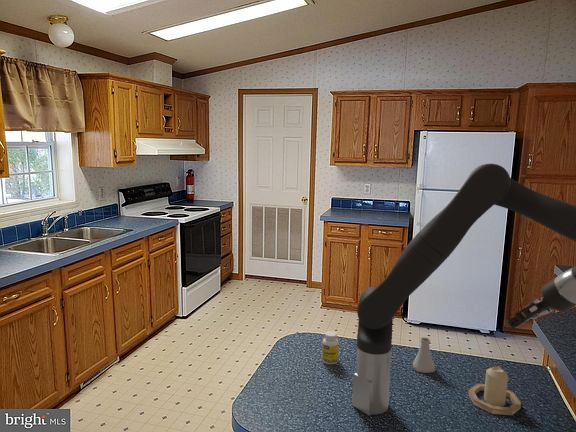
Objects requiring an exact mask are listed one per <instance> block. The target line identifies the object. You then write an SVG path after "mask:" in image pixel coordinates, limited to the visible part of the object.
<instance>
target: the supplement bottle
mask: <svg viewBox="0 0 576 432" xmlns="http://www.w3.org/2000/svg"><path fill="white" fill-rule="evenodd" d="M337 335H338V333H337V332H335V331H332V330H327V331H325V332H324V338H323V340H322V348H321V350H322V351H321V361H322V362H323V363H324V364H326V365H335V364H337V363H339V339H338V338H337V337H338V336H337Z"/></svg>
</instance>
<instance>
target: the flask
mask: <svg viewBox="0 0 576 432" xmlns="http://www.w3.org/2000/svg"><path fill="white" fill-rule="evenodd" d="M419 339H420V348H419V350H418V352H417V354H416V357H415V358H414V360H413V363H412V369H414V370H415V371H416V372H417V373H418V372H419V373H423V374H430V373H435V372H436V367H435V364H434V360H433V358H432V357H433V356H432V354H431V349H430V343H431V338H429V337H426V336H425V337H424V336H423V337H420V338H419Z"/></svg>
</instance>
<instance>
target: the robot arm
mask: <svg viewBox="0 0 576 432" xmlns="http://www.w3.org/2000/svg"><path fill="white" fill-rule="evenodd" d="M493 206H498V207H501V208H504V209H507V210H509V211H512V212H515V213H516V214H520V215H522V216H523V217H526V218H529V219H530V220H532V221H534V222H536V223H538V224H539V225H542V226H543V227H545V228H547V229H549V230H551V231H553V232H555V233H556V234H559V235H561V236H563V237H565V238H567V239H569V240H571V241H573V242H576V205H574V204H571V203H568V202H566V201H564V200H560V199H557V198H554V197H551V196H549V195H546V194H542V193H540V192H538V191H535V190H533V189H531V188H528V187H527V186H525V185H523V184H521V183H520V182H518V181H516V180H515V179H513V178H512V177H511V176H510V174H509V172H508V170H506V169H505V167H503V166H502V165H499V164H496V163H485V164H481V165H479V166H477V167H475V168H474V169H473V170H472V171H471V172H470V174H469V175H468V177H467V178H466V180H465V181H464V183H463V184H462V186H461V187H460V189H459V190H458V191H457V193H455V194H454V196H453V198H452V199H451V201H450V202H448V204H447V205H446V206H445V207H444V208H443V209H442V210H440V211H439V212H438V213H437V214H436V215H435V216H434V217H433V218H431V220H429V222H427V223H426V224H425V225H424V226H423V227H422V228H421V229H420V230H419V232H418V233H417V234H416V235H415V236H414V237H413V238H412V239H411V240H410V241H409V243H408V244H407V245H406V246H405V248H404V249H403V250H402V252H401V254H400V255H399V257H398V258H397V260H396V262H395V263H394V265H393V267H392V269H391V270H390V271H389V272H388V275H386V277H385V278H384V279H383V280H382V281H381V282H380V283H379V284H378V286H377V285H376V286H370V287H368V288H366V289H365V290H364V291H363V292H362V293H361V294H360V296H359V299H358V303H357V306H356V307H357V308H356V311H357V317H358V324H357V333H356V334H357V335H356V354H355V355H356V357H355V359H356V360H355V362H356V363H355V373H353V377H352V380H353V381H352V406H353V407H354V408H356V409H358V410H359V411H360V412H362V413H364V414H365V415H366V416H372V415H381V414H384V413H386V412H387V411H388V409H389V400H390V399H389V398H390V381H391V363H392V361H391V359H392V343H393V342H392V341H393V324H394V323H393V322H394V321H393V320H394V316H395V315H396V314H397V312H398V311H400V308H402V306H403V304H405V302H406V300H408V298H409V297H410V296H411V295H412V294H413V293H414V292H416V290H417V289H418V288H419V287H421V285H423V284H424V283H425V282H426V280H428V278H430V277H431V276H432V275H433V273H434V272H436V271H437V270H438V268H439V267H440V266H441V265H442V264H443V263H445V261H446V260H447V259H448V258H449V256H451V254H452V253H453V252H454V251H455V250H456V248H458V246H459V244H460V243H461V241H462V240H463V239H464V237H465V236H466V235H467V233H468V231H469V230H470V229H471V228H472V226H473V225H474V224H475V223H476V222H477V221H478V220H479V219H481V217H482V216H483V215H484V214H486V212H487V211H489V210H490V209H491V208H492V207H493ZM541 295H542V296H541V297H538V298H536V299H534V301H533V302H531V303H529V304H527V305H525V307H524V308H523V309H521V310H519V311H517V312H515V314H514V316H513V317H511V318H510V319H509V320H508V321H507V323H508V325H509V327H510V328H511V329H515V328H517V327H519V326H520V325H522V324H525V323H527V322H528V321H530V322H531V321H534V320H535V319H537V318H539V317H541V316H543V315H547V314H550V313H551V312H554V311H555V310H556V311H558V312H561V313H566V312H568V311H570V310H572V309H573V308H575V307H576V265H574V266H573V267H571V268H569V269H567V270H566V271H563V272H562V273H561V274H559V275H558V276H556V277H555V278H553V279H551V280H550V281H548V282H547V283H545V284H544V285H543V286H542V287H541Z"/></svg>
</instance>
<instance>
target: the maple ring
mask: <svg viewBox="0 0 576 432" xmlns="http://www.w3.org/2000/svg"><path fill="white" fill-rule="evenodd" d="M481 391H483V392H484V391H485V383H476V384H475V385H473V386H472V387H471V388H469V389H468V396H469V398H470V400H471V401H472V403H473V405H474V406H476V407H477V408H480V409H482V410H483V411H486V412H487V413H490V414H492V415H506V416H513V415H515V413H516V412H518V411H519V410H520V409H521V408H522V402H521V401H520V399H519V398H518V396H517V395H516V394H515V392H513V391H511V390H509V389H507V392H506V398H508V399H510V401H511V403H512V404H511V405H510V406H502V407H498V406H492V405H490V404H488V403H486V402H485V401H483V400H481V399H480V398H478V396H477V394H478V393H479V392H481Z"/></svg>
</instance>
